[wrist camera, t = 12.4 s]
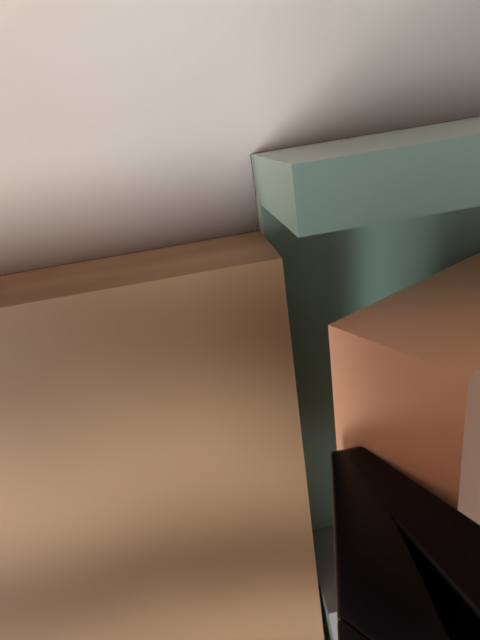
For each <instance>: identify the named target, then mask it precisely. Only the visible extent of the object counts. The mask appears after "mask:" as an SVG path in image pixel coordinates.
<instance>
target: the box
mask: <svg viewBox="0 0 480 640" xmlns="http://www.w3.org/2000/svg"><path fill="white" fill-rule="evenodd" d="M250 156H251V164H252V171H253V179H254V187H255V195H256V203H257V210H258V218H259V226H260V231H261V232H262V234H263V235H264V236H265V237H266V239H267V240H268V241H269V242H270V244H271V245H272V246H273V247H274V249H275V250H276V251H277V252H278V253H279V255H280V256H281V257H282V262H283V271H284V280H285V289H286V298H287V307H288V316H289V325H290V334H291V343H292V352H293V361H294V370H295V379H296V388H297V397H298V406H299V415H300V424H301V433H302V442H303V451H304V461H305V470H306V479H307V488H308V497H309V506H310V515H311V524H312V530H315V529H319V528H323V527H327V526H331V525H333V504H332V480H331V453H332V452H333V451H337V444H336V430H335V416H334V402H333V388H332V374H331V360H330V345H329V331H328V325H329V324H331V323H333V322H335V321H337V320H339V319H341V318H344V317H346V316H348V315H350V314H352V313H354V312H356V311H358V310H360V309H362V308H364V307H367V306H369V305H371V304H373V303H375V302H377V301H379V300H381V299H383V298H385V297H388V296H390V295H392V294H394V293H396V292H398V291H400V290H402V289H404V288H406V287H408V286H411V285H413V284H415V283H417V282H419V281H421V280H423V279H425V278H427V277H429V276H431V275H434V274H436V273H438V272H440V271H442V270H444V269H446V268H448V267H450V266H452V265H455V264H457V263H459V262H461V261H463V260H465V259H467V258H469V257H471V256H473V255H475V254H478V253H480V117H474V118H468V119H462V120H456V121H450V122H443V123H437V124H431V125H425V126H419V127H413V128H407V129H401V130H395V131H389V132H383V133H377V134H370V135H364V136H358V137H352V138H346V139H340V140H334V141H328V142H322V143H316V144H310V145H304V146H297V147H291V148H285V149H279V150H273V151H267V152H261V153H255V154H250ZM322 623H323V622H322ZM323 632H324V627H323ZM324 640H326V637H325V632H324Z"/></svg>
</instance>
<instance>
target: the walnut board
mask: <svg viewBox="0 0 480 640" xmlns="http://www.w3.org/2000/svg"><path fill="white" fill-rule="evenodd" d="M0 640H324V632H323V623H322V614H321V605H320V596H319V587H318V578H317V569H316V560H315V551H314V542H313V533H312V524H311V515H310V506H309V497H308V488H307V479H306V470H305V461H304V451H303V442H302V433H301V424H300V415H299V406H298V397H297V388H296V379H295V370H294V361H293V352H292V343H291V334H290V325H289V316H288V307H287V298H286V289H285V280H284V271H283V262H282V257H281V256H280V255H279V253H278V252H277V251H276V250H275V249H274V247H273V246H272V245H271V244H270V242H269V241H268V240H267V239H266V237H265V236H264V235H263V234H262V232H261V231H256V232H250V233H244V234H239V235H233V236H227V237H221V238H216V239H210V240H204V241H198V242H193V243H187V244H181V245H175V246H170V247H164V248H158V249H152V250H147V251H141V252H135V253H129V254H123V255H118V256H112V257H106V258H100V259H95V260H89V261H83V262H77V263H72V264H66V265H60V266H54V267H49V268H43V269H37V270H31V271H26V272H20V273H14V274H8V275H2V276H0Z"/></svg>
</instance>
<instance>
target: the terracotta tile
mask: <svg viewBox="0 0 480 640" xmlns="http://www.w3.org/2000/svg"><path fill="white" fill-rule="evenodd" d="M328 331H329V345H330V360H331V374H332V388H333V402H334V416H335V430H336V444H337V451H338V450H342V449H347V448H352V447H356V446H361V447H364V448H366V449H367V450H369V451H371V452H372V453H374V454H375V455H377V456H378V457H380V458H381V459H383V460H384V461H386V462H387V463H389V464H390V465H391V466H393V467H394V468H396V469H397V470H399V471H400V472H402V473H403V474H405V475H406V476H408V477H409V478H411V479H412V480H414V481H415V482H417V483H418V484H420V485H421V486H423V487H424V488H426V489H427V490H429V491H430V492H432V493H433V494H435V495H436V496H437V497H439V498H440V499H442V500H443V501H445V502H446V503H448V504H449V505H451V506H452V507H454V508H455V509H457V510H458V511H460V512H461V513H463V514H464V515H466V516H467V517H469V518H470V519H472V520H473V521H475V522H476V523H478V524H479V525H480V253H478V254H475V255H473V256H471V257H469V258H467V259H465V260H463V261H461V262H459V263H457V264H455V265H452V266H450V267H448V268H446V269H444V270H442V271H440V272H438V273H436V274H434V275H431V276H429V277H427V278H425V279H423V280H421V281H419V282H417V283H415V284H413V285H411V286H408V287H406V288H404V289H402V290H400V291H398V292H396V293H394V294H392V295H390V296H388V297H385V298H383V299H381V300H379V301H377V302H375V303H373V304H371V305H369V306H367V307H364V308H362V309H360V310H358V311H356V312H354V313H352V314H350V315H348V316H346V317H344V318H341V319H339V320H337V321H335V322H333V323H331V324H329V325H328Z"/></svg>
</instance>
